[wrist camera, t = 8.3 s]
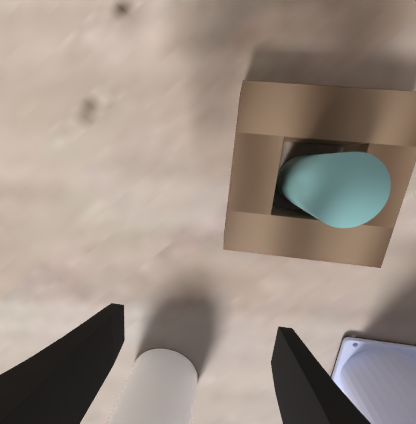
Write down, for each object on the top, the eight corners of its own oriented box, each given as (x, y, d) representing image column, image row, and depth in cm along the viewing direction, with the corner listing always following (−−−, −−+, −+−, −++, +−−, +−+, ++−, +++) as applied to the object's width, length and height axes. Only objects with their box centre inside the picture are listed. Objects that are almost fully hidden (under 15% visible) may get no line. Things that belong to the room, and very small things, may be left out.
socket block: (398, 106, 15) (438, 93, 13) (356, 251, 18) (380, 267, 16) (240, 94, 16) (243, 80, 13) (223, 236, 19) (223, 249, 16)
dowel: (332, 160, 17) (404, 159, 10) (317, 207, 18) (372, 234, 11) (284, 151, 17) (322, 144, 10) (271, 198, 18) (299, 220, 11)
